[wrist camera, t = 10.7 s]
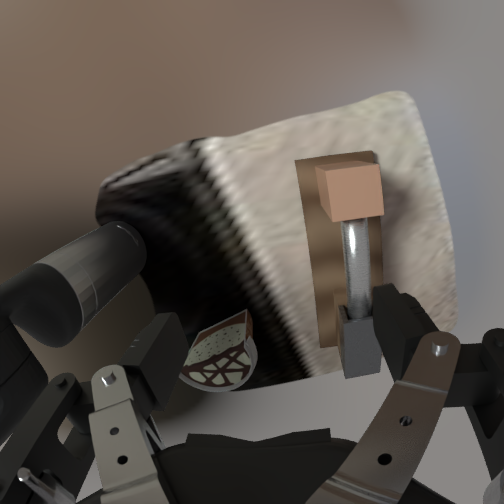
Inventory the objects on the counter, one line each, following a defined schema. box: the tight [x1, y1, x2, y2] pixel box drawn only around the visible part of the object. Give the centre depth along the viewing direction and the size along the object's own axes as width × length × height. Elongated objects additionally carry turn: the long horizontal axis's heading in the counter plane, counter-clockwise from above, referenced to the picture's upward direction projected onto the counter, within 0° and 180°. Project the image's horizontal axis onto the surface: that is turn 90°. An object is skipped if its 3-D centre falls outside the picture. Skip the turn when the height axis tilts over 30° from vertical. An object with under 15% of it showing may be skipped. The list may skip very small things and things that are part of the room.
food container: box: [179, 309, 257, 392], centre depth 41 cm, size 12×6×10 cm, turn 123°
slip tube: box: [340, 217, 371, 320], centre depth 32 cm, size 17×3×3 cm, turn 11°
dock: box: [295, 151, 383, 357], centre depth 37 cm, size 28×10×6 cm, turn 11°
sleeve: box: [338, 300, 382, 379], centre depth 35 cm, size 9×5×4 cm, turn 11°
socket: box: [315, 161, 384, 222], centre depth 31 cm, size 5×5×9 cm
